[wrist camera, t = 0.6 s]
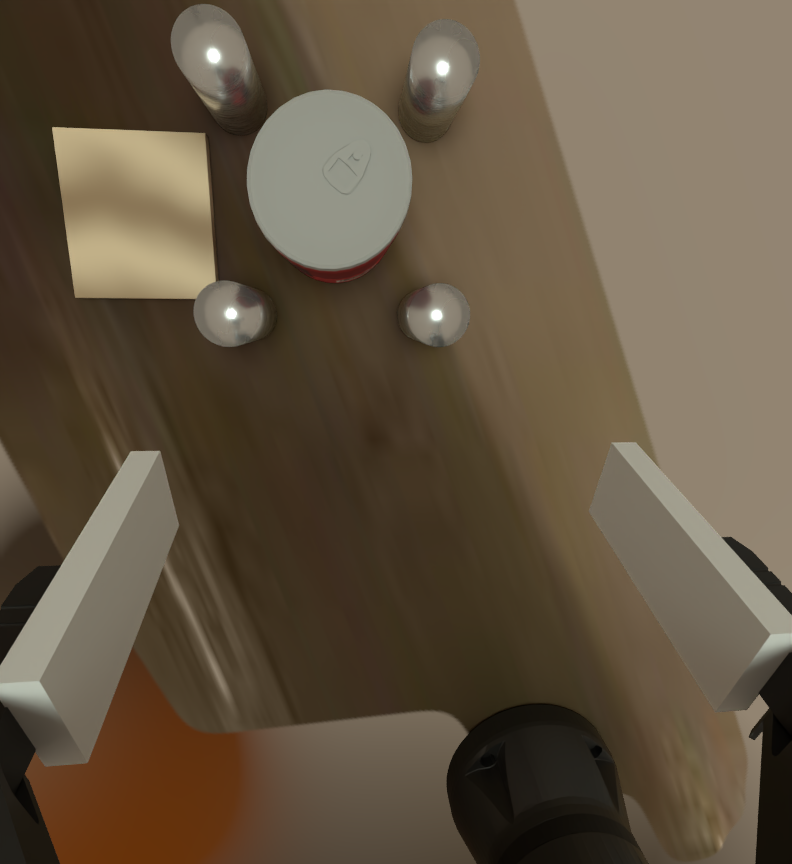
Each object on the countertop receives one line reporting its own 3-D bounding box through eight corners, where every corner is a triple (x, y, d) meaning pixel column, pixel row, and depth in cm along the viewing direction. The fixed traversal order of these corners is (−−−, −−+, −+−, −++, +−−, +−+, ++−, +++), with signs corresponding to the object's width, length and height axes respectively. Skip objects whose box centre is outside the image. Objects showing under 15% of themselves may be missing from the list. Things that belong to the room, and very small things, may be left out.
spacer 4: (446, 341, 36) (468, 346, 30) (396, 341, 36) (408, 346, 29) (447, 289, 35) (471, 283, 29) (397, 289, 35) (409, 282, 28)
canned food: (412, 196, 34) (442, 142, 23) (360, 304, 35) (366, 300, 25) (308, 136, 32) (289, 49, 22) (258, 251, 34) (218, 222, 23)
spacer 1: (268, 136, 32) (247, 88, 25) (211, 134, 32) (174, 85, 25) (265, 73, 31) (243, 6, 25) (206, 70, 31) (167, 1, 24)
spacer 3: (451, 143, 33) (478, 99, 27) (398, 141, 33) (411, 96, 26) (453, 82, 33) (481, 21, 26) (398, 79, 32) (412, 16, 25)
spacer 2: (278, 340, 35) (261, 346, 28) (225, 340, 35) (196, 346, 28) (275, 287, 34) (258, 281, 28) (222, 287, 34) (190, 280, 27)
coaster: (219, 299, 34) (217, 298, 33) (81, 298, 33) (75, 297, 33) (208, 137, 32) (204, 133, 31) (59, 132, 31) (52, 127, 30)
